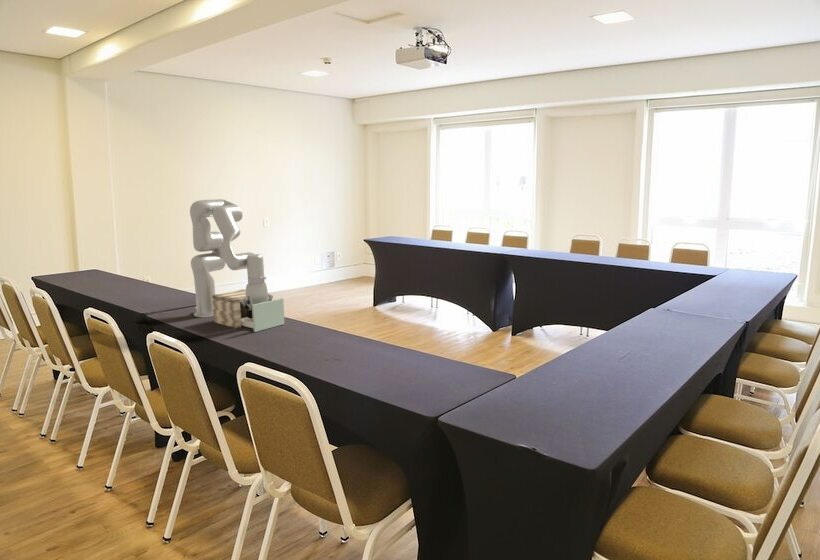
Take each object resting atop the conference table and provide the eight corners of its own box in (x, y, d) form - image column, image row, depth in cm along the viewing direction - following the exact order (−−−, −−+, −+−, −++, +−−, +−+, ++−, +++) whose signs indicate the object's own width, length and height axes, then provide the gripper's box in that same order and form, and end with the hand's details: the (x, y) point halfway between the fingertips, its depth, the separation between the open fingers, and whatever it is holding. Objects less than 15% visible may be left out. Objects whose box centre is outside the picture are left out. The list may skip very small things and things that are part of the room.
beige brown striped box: (214, 322, 282) (212, 295, 279) (245, 314, 296) (243, 289, 293) (236, 328, 271) (234, 300, 268) (267, 320, 285) (265, 293, 282)
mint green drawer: (232, 326, 273) (230, 300, 271) (261, 318, 286) (260, 294, 284) (255, 331, 263) (253, 305, 260) (284, 323, 276) (283, 298, 273)
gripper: (266, 277, 279) (268, 311, 282) (235, 282, 266) (238, 318, 269) (276, 278, 275) (278, 313, 278) (245, 284, 261) (248, 320, 264)
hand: (258, 315), depth 273 cm, fingers open, 9 cm apart
